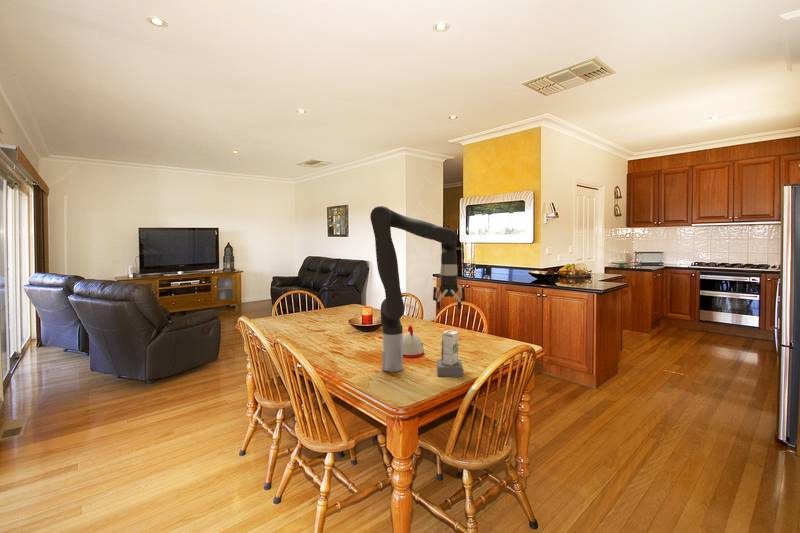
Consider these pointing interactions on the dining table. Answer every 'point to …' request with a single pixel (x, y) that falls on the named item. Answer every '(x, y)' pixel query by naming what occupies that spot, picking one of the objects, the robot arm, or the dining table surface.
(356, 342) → the dining table surface
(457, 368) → the grey block
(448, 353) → the syrup box
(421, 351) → the kitchen timer
